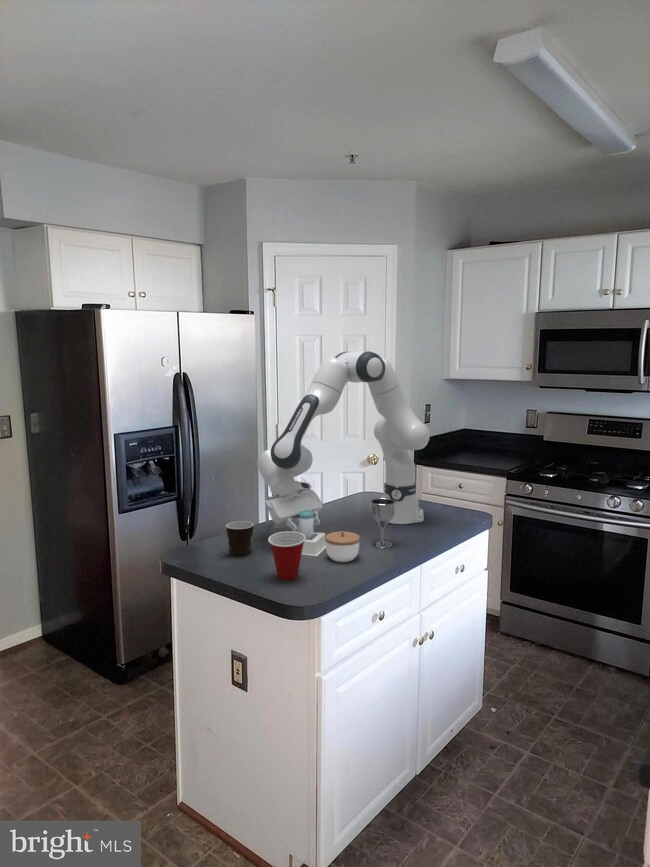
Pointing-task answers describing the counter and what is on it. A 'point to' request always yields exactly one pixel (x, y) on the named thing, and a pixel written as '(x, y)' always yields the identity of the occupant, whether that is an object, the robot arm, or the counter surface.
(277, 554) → the plastic cup
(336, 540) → the lidded jar
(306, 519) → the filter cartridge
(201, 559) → the counter surface
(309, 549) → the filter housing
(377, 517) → the wine glass
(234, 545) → the coffee mug
